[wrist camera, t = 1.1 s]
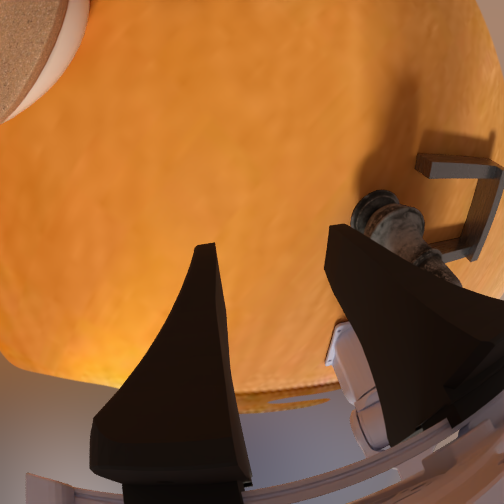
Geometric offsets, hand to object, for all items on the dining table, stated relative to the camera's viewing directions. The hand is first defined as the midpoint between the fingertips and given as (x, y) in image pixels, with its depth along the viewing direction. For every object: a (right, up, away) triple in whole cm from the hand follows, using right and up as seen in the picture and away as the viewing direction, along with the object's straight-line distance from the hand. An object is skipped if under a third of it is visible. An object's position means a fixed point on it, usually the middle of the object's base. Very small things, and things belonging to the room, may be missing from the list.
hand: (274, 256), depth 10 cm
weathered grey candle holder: (+10, +3, +13) cm, 17 cm away
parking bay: (+19, +5, +14) cm, 25 cm away
